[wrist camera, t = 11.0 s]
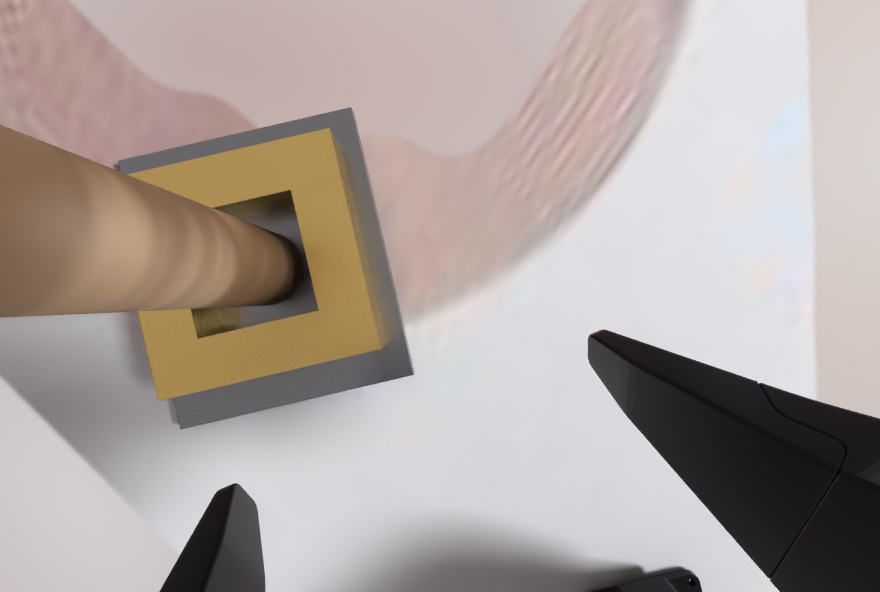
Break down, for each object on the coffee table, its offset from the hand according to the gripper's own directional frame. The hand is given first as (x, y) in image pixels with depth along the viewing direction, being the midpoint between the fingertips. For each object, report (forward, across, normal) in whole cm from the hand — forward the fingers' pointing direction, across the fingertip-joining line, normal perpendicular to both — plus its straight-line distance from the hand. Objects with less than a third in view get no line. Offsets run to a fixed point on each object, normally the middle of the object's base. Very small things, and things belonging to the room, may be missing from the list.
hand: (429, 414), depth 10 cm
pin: (+15, +5, +2) cm, 16 cm away
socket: (+16, +5, +2) cm, 17 cm away
